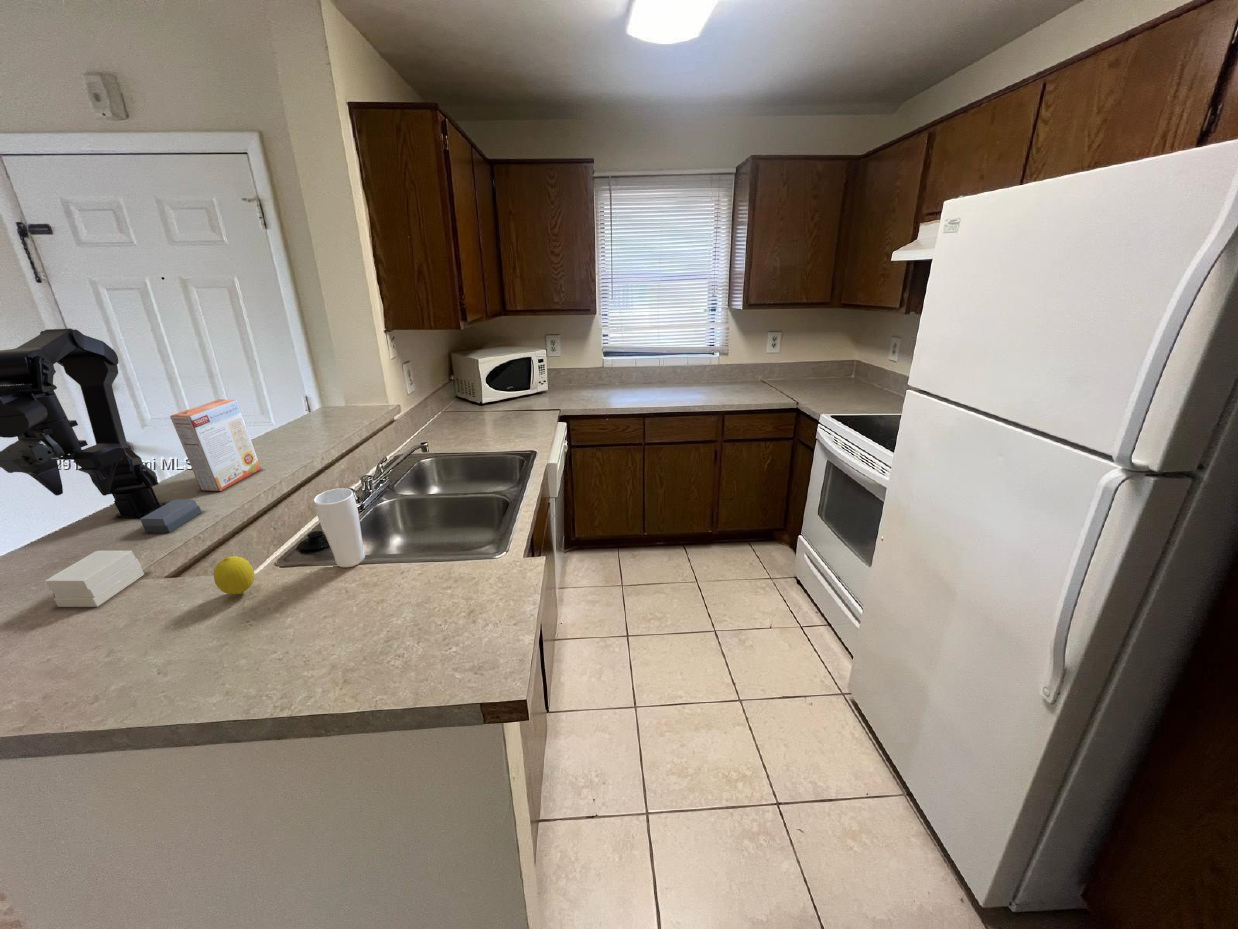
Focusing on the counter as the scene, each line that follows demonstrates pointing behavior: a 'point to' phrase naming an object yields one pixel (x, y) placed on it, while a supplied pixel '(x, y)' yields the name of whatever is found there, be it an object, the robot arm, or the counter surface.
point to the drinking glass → (341, 525)
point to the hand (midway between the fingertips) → (83, 494)
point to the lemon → (233, 575)
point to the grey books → (170, 516)
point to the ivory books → (100, 588)
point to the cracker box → (216, 444)
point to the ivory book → (90, 570)
